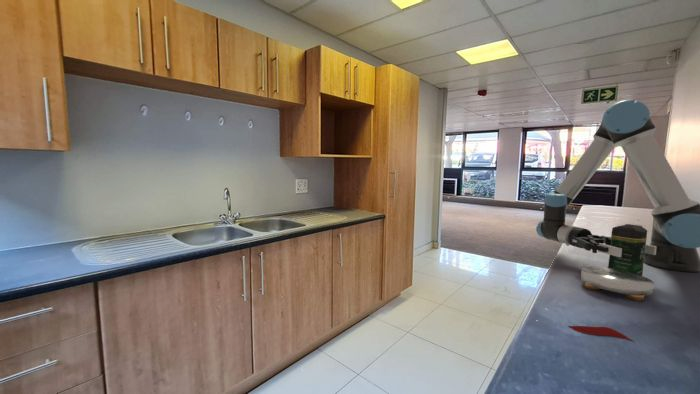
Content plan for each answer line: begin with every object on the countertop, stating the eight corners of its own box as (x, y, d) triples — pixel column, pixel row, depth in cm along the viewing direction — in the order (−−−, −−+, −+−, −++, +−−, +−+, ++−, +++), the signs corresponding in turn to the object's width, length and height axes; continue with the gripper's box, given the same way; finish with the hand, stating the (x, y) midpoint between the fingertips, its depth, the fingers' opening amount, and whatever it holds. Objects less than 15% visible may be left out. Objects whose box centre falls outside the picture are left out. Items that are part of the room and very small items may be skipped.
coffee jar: (635, 287, 90) (641, 228, 88) (603, 279, 97) (608, 224, 95) (645, 281, 95) (651, 225, 93) (614, 273, 102) (619, 221, 100)
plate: (608, 278, 97) (609, 265, 97) (668, 299, 81) (669, 284, 81) (567, 282, 94) (568, 268, 94) (621, 304, 79) (623, 288, 78)
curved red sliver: (635, 340, 63) (635, 331, 63) (637, 350, 59) (638, 341, 59) (566, 321, 71) (566, 313, 70) (564, 329, 67) (565, 321, 67)
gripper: (600, 244, 115) (667, 261, 94) (546, 247, 111) (604, 265, 90) (602, 225, 115) (670, 238, 94) (548, 228, 110) (606, 241, 89)
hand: (638, 251), depth 92 cm, fingers open, 13 cm apart
